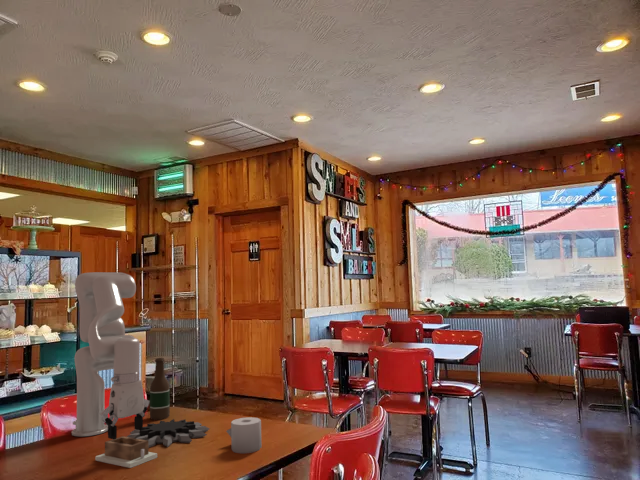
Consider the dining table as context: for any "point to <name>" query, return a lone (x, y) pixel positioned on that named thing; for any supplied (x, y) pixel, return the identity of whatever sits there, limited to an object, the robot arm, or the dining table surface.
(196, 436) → the decorative piece
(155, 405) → the beer bottle
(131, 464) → the panel
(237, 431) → the toilet tissue
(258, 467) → the dining table surface
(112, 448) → the frame
